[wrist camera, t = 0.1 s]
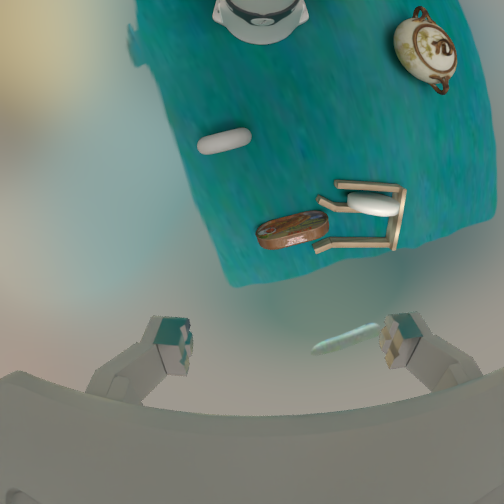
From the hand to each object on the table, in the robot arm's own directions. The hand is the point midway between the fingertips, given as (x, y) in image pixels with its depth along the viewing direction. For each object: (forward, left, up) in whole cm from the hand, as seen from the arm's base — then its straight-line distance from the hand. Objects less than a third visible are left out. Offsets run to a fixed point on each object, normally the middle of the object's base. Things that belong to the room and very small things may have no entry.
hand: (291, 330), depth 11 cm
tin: (+14, +6, -48) cm, 51 cm away
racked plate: (+8, +22, -48) cm, 53 cm away
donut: (-4, -7, -48) cm, 49 cm away
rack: (+13, +21, -48) cm, 54 cm away
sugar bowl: (-27, +33, -48) cm, 64 cm away
